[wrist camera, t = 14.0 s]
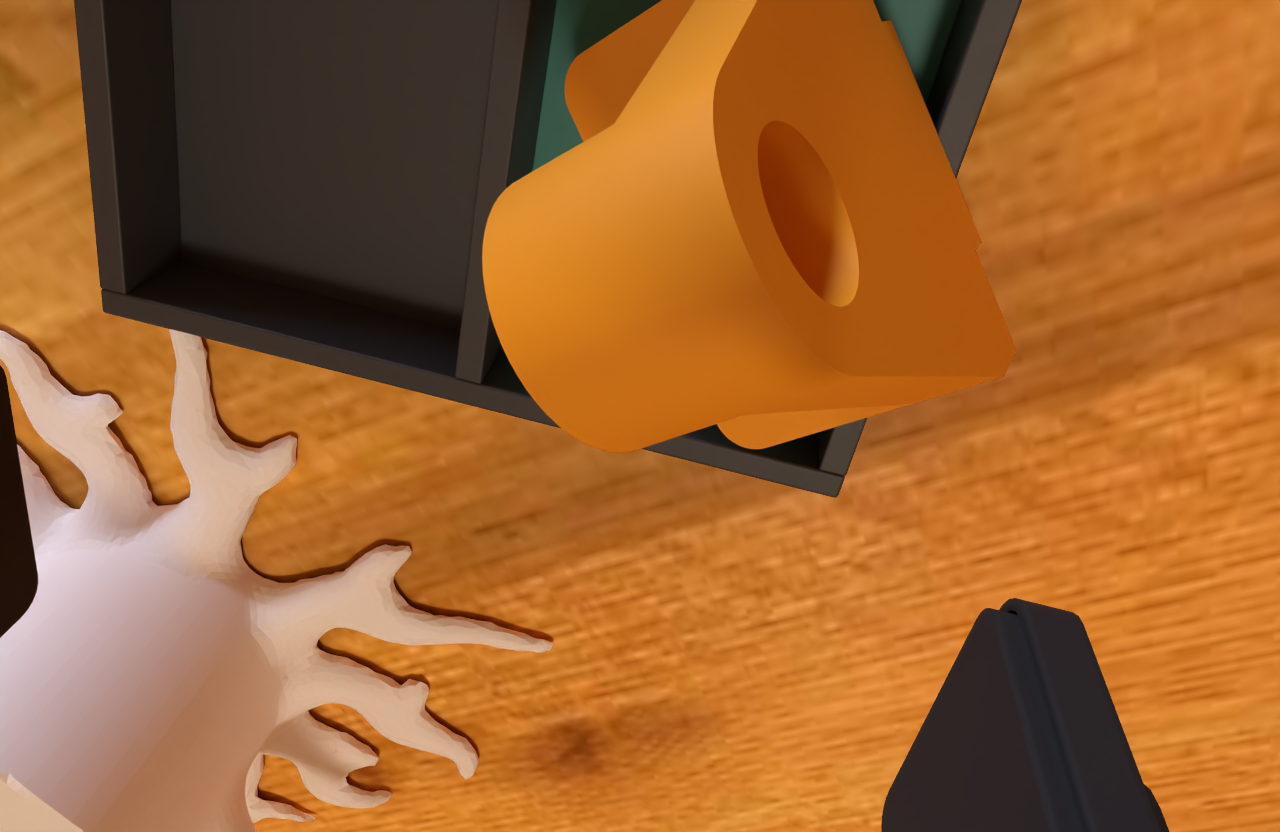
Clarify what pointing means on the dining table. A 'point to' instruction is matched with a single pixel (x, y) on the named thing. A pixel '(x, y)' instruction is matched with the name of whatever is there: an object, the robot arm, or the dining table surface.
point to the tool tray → (388, 176)
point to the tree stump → (188, 636)
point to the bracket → (741, 234)
